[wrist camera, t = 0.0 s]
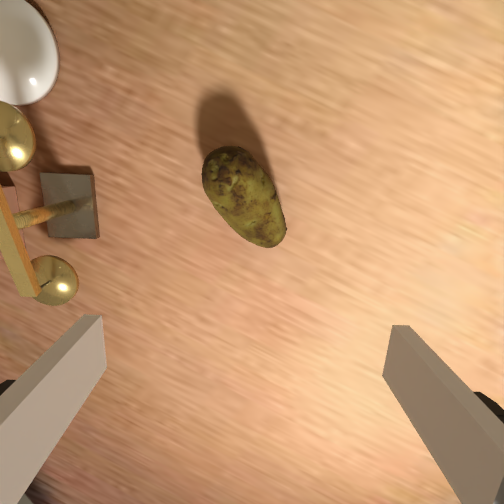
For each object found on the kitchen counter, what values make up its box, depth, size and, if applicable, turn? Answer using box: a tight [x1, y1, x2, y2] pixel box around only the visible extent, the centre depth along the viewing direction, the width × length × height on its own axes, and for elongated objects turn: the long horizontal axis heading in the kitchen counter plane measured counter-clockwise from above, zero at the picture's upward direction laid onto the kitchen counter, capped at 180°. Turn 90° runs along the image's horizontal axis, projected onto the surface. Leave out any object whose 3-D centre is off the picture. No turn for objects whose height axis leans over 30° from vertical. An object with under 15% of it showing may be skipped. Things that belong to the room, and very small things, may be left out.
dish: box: [0, 0, 60, 105], centre depth 34 cm, size 11×11×1 cm
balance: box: [0, 101, 100, 306], centre depth 33 cm, size 21×6×15 cm, turn 177°
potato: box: [202, 146, 287, 248], centre depth 36 cm, size 8×13×8 cm, turn 14°
